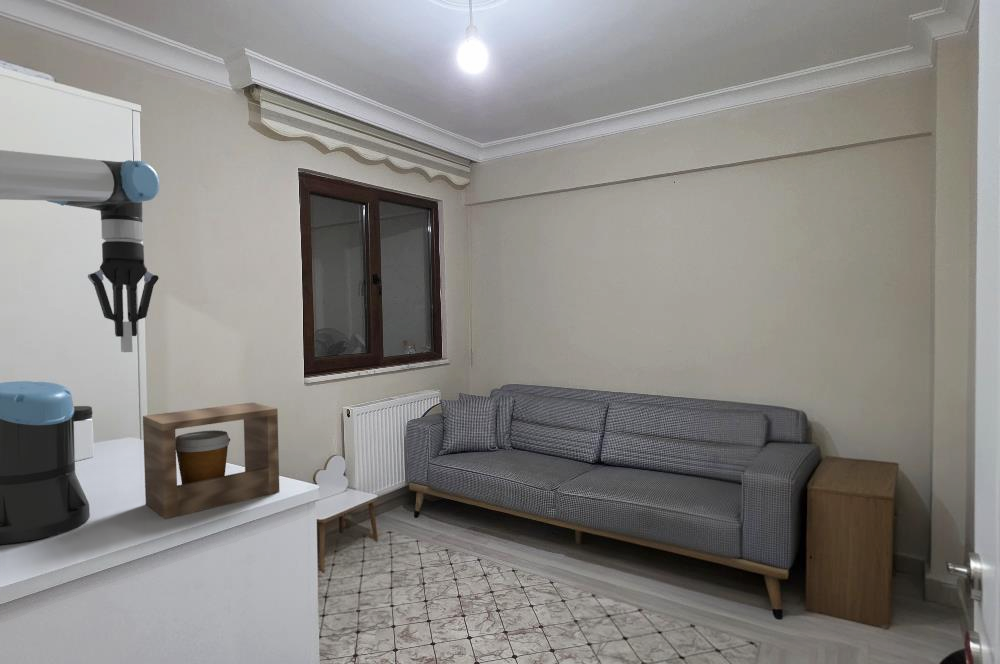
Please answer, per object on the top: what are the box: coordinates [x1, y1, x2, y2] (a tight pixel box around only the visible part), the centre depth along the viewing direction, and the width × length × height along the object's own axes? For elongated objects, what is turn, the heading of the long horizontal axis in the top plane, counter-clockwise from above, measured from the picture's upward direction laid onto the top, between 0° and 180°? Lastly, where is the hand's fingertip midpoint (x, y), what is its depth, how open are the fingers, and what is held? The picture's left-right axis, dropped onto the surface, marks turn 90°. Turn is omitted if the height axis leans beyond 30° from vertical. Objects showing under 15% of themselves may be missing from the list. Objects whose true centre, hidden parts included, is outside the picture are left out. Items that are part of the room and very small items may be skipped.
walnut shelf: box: [142, 402, 280, 520], centre depth 110 cm, size 20×11×16 cm, turn 136°
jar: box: [73, 405, 95, 463], centre depth 140 cm, size 9×8×12 cm
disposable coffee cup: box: [176, 430, 231, 485], centre depth 109 cm, size 10×10×12 cm
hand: (126, 351), depth 126 cm, fingers closed
